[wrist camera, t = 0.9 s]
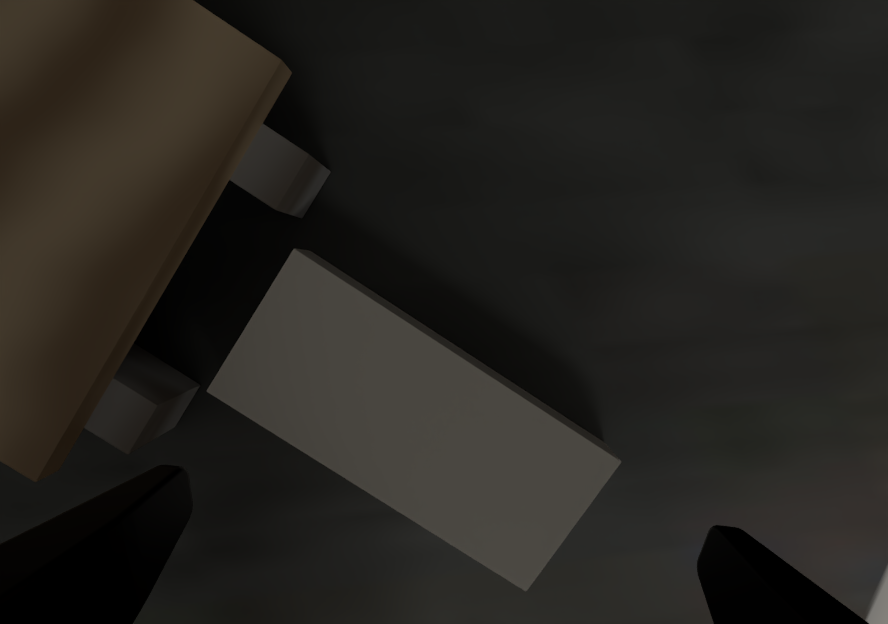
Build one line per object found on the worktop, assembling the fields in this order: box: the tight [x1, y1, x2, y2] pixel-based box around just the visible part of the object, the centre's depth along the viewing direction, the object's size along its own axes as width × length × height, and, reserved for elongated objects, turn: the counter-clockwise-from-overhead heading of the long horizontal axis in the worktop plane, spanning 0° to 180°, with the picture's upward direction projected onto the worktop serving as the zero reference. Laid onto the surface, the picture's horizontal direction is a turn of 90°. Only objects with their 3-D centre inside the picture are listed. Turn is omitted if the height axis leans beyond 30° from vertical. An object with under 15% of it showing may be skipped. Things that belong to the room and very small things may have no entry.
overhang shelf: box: [0, 0, 330, 482], centre depth 17 cm, size 15×18×4 cm
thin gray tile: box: [207, 249, 621, 591], centre depth 19 cm, size 16×7×2 cm, turn 57°
